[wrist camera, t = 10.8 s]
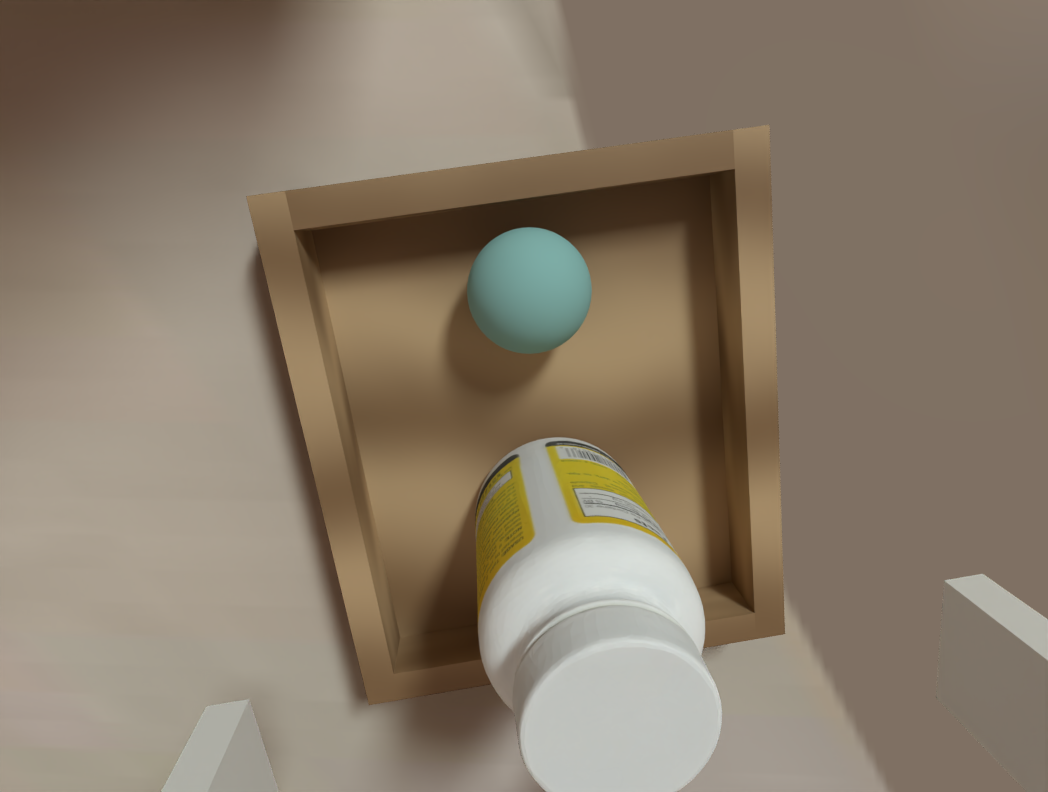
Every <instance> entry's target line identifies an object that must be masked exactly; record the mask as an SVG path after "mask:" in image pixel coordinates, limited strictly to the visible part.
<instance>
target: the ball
mask: <svg viewBox="0 0 1048 792" xmlns="http://www.w3.org/2000/svg"><path fill="white" fill-rule="evenodd" d="M591 295H592V285H591V278H590V274H589V270H588V267H587V265H586V263H585V261H584V259H583V257H582V256H581V254H580V253H579V252H578V250H577V249H576V248H575V247H574V246H573V245H572V244H571V243H570V242H569V241H567V240H566V239H565V238H563V237H562V236H560V235H558V234H556V233H554V232H552V231H549V230H546V229H541V228H533V227H526V228H518V229H513V230H510V231H507V232H505V233H503V234H501V235H499V236H497V237H496V238H494V239H493V240H491V241H490V242H489V243H488V244H487V245H486V246H485V247H484V248H483V249H482V250H481V251H480V253H479V254H478V256H477V257H476V259H475V261H474V263H473V265H472V267H471V270H470V273H469V277H468V283H467V298H468V304H469V308H470V311H471V314H472V317H473V318H474V320H475V322H476V324H477V326H478V327H479V328H480V330H481V331H482V332H483V333H484V334H485V336H486V337H487V338H489V339H490V340H491V341H492V342H494V343H495V344H497V345H498V346H500V347H502V348H504V349H507V350H510V351H513V352H517V353H524V354H534V353H541V352H546V351H549V350H552V349H554V348H556V347H558V346H560V345H562V344H563V343H565V342H566V341H568V340H569V339H570V338H571V337H572V336H573V335H574V334H575V333H576V332H577V331H578V330H579V328H580V327H581V325H582V324H583V322H584V320H585V318H586V316H587V313H588V310H589V307H590V302H591Z"/></svg>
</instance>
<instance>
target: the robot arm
mask: <svg viewBox="0 0 1048 792" xmlns="http://www.w3.org/2000/svg"><path fill="white" fill-rule="evenodd" d="M936 698H937V699H938V700H939V701H940V703H941V704H942V705H943V706H944V707H945V708H946V709H947V710H948V711H949V712H950V713H951V714H952V715H953V716H954V717H955V718H956V719H957V720H958V721H959V722H960V723H961V724H962V725H963V726H964V728H966V730H968V732H969V733H970V734H971V735H972V736H973V737H974V738H975V739H976V740H977V741H978V742H979V743H980V744H981V745H982V746H983V747H984V748H985V749H986V750H987V751H988V752H989V753H990V754H991V756H992V757H993V758H994V759H995V760H996V761H997V762H998V763H999V764H1000V765H1001V766H1002V767H1003V768H1004V769H1005V770H1006V771H1007V772H1008V773H1009V774H1010V775H1011V776H1012V777H1013V778H1014V779H1015V780H1016V781H1017V782H1018V784H1019V785H1021V786H1022V788H1023V789H1024V790H1025V791H1026V792H1048V619H1046V618H1045V617H1043V616H1042V615H1041V614H1039V613H1038V612H1036V611H1035V610H1033V609H1032V608H1031V607H1029V606H1028V605H1026V604H1025V603H1024V602H1022V601H1021V600H1019V599H1018V598H1016V597H1015V596H1013V595H1012V594H1011V593H1009V592H1008V591H1006V590H1005V589H1003V588H1002V587H1001V586H999V585H998V584H996V583H995V582H994V581H992V580H991V579H989V578H988V577H986V576H985V575H984V574H979V575H974V576H968V577H962V578H956V579H950V580H945V581H944V591H943V604H942V619H941V634H940V648H939V661H938V677H937V690H936ZM161 792H279V790H278V787H277V784H276V781H275V778H274V775H273V772H272V769H271V765H270V762H269V759H268V756H267V753H266V750H265V747H264V744H263V740H262V737H261V734H260V731H259V728H258V725H257V722H256V719H255V715H254V712H253V709H252V706H251V703H250V700H249V699H247V700H241V701H235V702H229V703H223V704H218V705H212V706H206V708H205V710H204V712H203V714H202V716H201V718H200V720H199V721H198V723H197V725H196V727H195V729H194V731H193V733H192V735H191V737H190V738H189V740H188V742H187V744H186V746H185V748H184V750H183V752H182V753H181V755H180V757H179V759H178V761H177V763H176V765H175V767H174V768H173V770H172V772H171V774H170V776H169V778H168V780H167V782H166V784H165V785H164V787H163V789H162V791H161Z"/></svg>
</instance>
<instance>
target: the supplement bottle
mask: <svg viewBox="0 0 1048 792" xmlns="http://www.w3.org/2000/svg"><path fill="white" fill-rule="evenodd" d="M475 536H476V559H477V563H476V564H477V603H478V637H479V646H480V654H481V658H482V663H483V666H484V668H485V671H486V674H487V676H488V678H489V680H490V682H491V684H492V686H493V687H494V689H495V691H496V692H497V694H498V695H499V696H500V698H501V699H502V700H503V701H504V703H505V704H506V705H507V706H508V707H509V708H510V709H511V710H512V711H513V712H514V716H515V722H516V729H517V736H518V744H519V749H520V753H521V756H522V759H523V761H524V764H525V766H526V767H527V769H528V771H529V773H530V775H531V776H532V777H533V779H534V780H535V781H536V782H537V783H538V785H539V786H540V787H541V788H542V789H544V790H545V791H546V792H677V791H678V790H680V789H681V788H683V787H684V786H685V785H687V784H688V783H689V782H690V781H691V780H692V779H694V778H695V777H696V775H697V774H698V773H699V772H700V771H701V770H702V768H703V767H704V766H705V764H706V763H707V762H708V760H709V759H710V757H711V755H712V753H713V751H714V749H715V747H716V745H717V741H718V738H719V735H720V730H721V722H722V707H721V700H720V696H719V693H718V690H717V687H716V685H715V682H714V680H713V678H712V676H711V674H710V672H709V670H708V668H707V666H706V664H705V662H704V660H703V658H702V656H701V654H702V650H703V645H704V640H705V617H704V610H703V605H702V602H701V598H700V596H699V593H698V591H697V588H696V586H695V584H694V582H693V580H692V578H691V576H690V574H689V572H688V570H687V568H686V566H685V565H684V563H683V562H682V560H681V558H680V557H679V556H678V554H677V552H676V551H675V549H674V548H673V546H672V545H671V543H670V542H669V540H668V538H667V537H666V535H665V534H664V532H663V531H662V529H661V528H660V526H659V524H658V523H657V521H656V520H655V518H654V517H653V515H652V514H651V512H650V510H649V509H648V507H647V506H646V504H645V502H644V501H643V499H642V498H641V496H640V495H639V493H638V492H637V490H636V489H635V487H634V485H633V484H632V482H631V481H630V479H629V478H628V476H627V475H626V473H625V472H624V471H623V469H622V468H621V467H620V466H619V465H618V463H617V462H616V461H615V460H614V459H613V458H612V457H611V456H609V455H608V454H607V453H606V452H604V451H603V450H601V449H599V448H598V447H596V446H594V445H592V444H589V443H587V442H584V441H581V440H577V439H572V438H563V437H554V438H545V439H539V440H536V441H532V442H529V443H527V444H524V445H522V446H520V447H518V448H516V449H515V450H513V451H511V452H510V453H508V454H507V455H506V456H505V457H503V458H502V459H501V460H500V461H499V462H498V463H497V464H496V465H495V466H494V467H493V469H492V470H491V471H490V472H489V474H488V476H487V477H486V479H485V481H484V483H483V485H482V487H481V489H480V492H479V495H478V499H477V504H476V512H475Z"/></svg>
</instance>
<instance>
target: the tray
mask: <svg viewBox="0 0 1048 792" xmlns="http://www.w3.org/2000/svg"><path fill="white" fill-rule="evenodd" d="M769 130H770V129H769V125H765V126H758V127H750V128H743V129H735V130H728V131H721V132H713V133H707V134H699V135H692V136H684V137H677V138H669V139H662V140H655V141H647V142H640V143H633V144H626V145H618V146H611V147H603V148H596V149H589V150H581V151H574V152H567V153H560V154H552V155H545V156H538V157H530V158H523V159H516V160H508V161H501V162H494V163H486V164H479V165H472V166H464V167H457V168H450V169H442V170H435V171H428V172H420V173H413V174H406V175H398V176H391V177H384V178H376V179H369V180H362V181H355V182H347V183H340V184H333V185H325V186H318V187H311V188H303V189H296V190H289V191H281V192H274V193H267V194H259V195H252V196H246V197H247V201H248V206H249V210H250V214H251V218H252V222H253V226H254V231H255V235H256V239H257V243H258V247H259V251H260V255H261V260H262V264H263V268H264V272H265V276H266V280H267V284H268V289H269V293H270V297H271V301H272V305H273V309H274V313H275V318H276V322H277V326H278V330H279V334H280V338H281V342H282V347H283V351H284V355H285V359H286V363H287V367H288V372H289V376H290V380H291V384H292V388H293V392H294V396H295V401H296V405H297V409H298V413H299V417H300V421H301V425H302V430H303V434H304V438H305V442H306V446H307V450H308V454H309V459H310V463H311V467H312V471H313V475H314V479H315V483H316V488H317V492H318V496H319V500H320V504H321V508H322V513H323V517H324V521H325V525H326V529H327V533H328V537H329V542H330V546H331V550H332V554H333V558H334V562H335V566H336V571H337V575H338V579H339V583H340V587H341V591H342V595H343V600H344V604H345V608H346V612H347V616H348V620H349V624H350V629H351V633H352V637H353V641H354V645H355V649H356V654H357V658H358V662H359V666H360V670H361V674H362V678H363V683H364V687H365V691H366V695H367V699H368V703H369V705H372V704H378V703H384V702H390V701H396V700H402V699H407V698H413V697H419V696H425V695H431V694H437V693H443V692H448V691H454V690H460V689H466V688H472V687H478V686H484V685H489V684H491V682H490V680H489V678H488V676H487V674H486V671H485V668H484V666H483V663H482V658H481V654H480V646H479V637H478V603H477V564H476V563H477V559H476V536H475V512H476V504H477V499H478V495H479V492H480V489H481V487H482V485H483V483H484V481H485V479H486V477H487V476H488V474H489V472H490V471H491V470H492V469H493V467H494V466H495V465H496V464H497V463H498V462H499V461H500V460H501V459H502V458H503V457H505V456H506V455H507V454H508V453H510V452H511V451H513V450H515V449H516V448H518V447H520V446H522V445H524V444H527V443H529V442H532V441H536V440H539V439H545V438H554V437H563V438H572V439H577V440H581V441H584V442H587V443H589V444H592V445H594V446H596V447H598V448H599V449H601V450H603V451H604V452H606V453H607V454H608V455H609V456H611V457H612V458H613V459H614V460H615V461H616V462H617V463H618V465H619V466H620V467H621V468H622V469H623V471H624V472H625V473H626V475H627V476H628V478H629V479H630V481H631V482H632V484H633V485H634V487H635V489H636V490H637V492H638V493H639V495H640V496H641V498H642V499H643V501H644V502H645V504H646V506H647V507H648V509H649V510H650V512H651V514H652V515H653V517H654V518H655V520H656V521H657V523H658V524H659V526H660V528H661V529H662V531H663V532H664V534H665V535H666V537H667V538H668V540H669V542H670V543H671V545H672V546H673V548H674V549H675V551H676V552H677V554H678V556H679V557H680V558H681V560H682V562H683V563H684V565H685V566H686V568H687V570H688V572H689V574H690V576H691V578H692V580H693V582H694V584H695V586H696V588H697V591H698V593H699V596H700V598H701V602H702V605H703V610H704V617H705V640H704V645H703V648H706V647H712V646H718V645H724V644H729V643H735V642H741V641H747V640H753V639H759V638H765V637H770V636H776V635H782V634H785V623H784V590H783V557H782V524H781V494H780V493H781V491H780V459H779V427H778V426H779V425H778V392H777V360H776V326H775V295H774V261H773V230H772V229H773V228H772V196H771V165H770V164H771V163H770V131H769ZM526 227H533V228H541V229H546V230H549V231H552V232H554V233H556V234H558V235H560V236H562V237H563V238H565V239H566V240H567V241H569V242H570V243H571V244H572V245H573V246H574V247H575V248H576V249H577V250H578V252H579V253H580V254H581V256H582V257H583V259H584V261H585V263H586V265H587V267H588V270H589V274H590V278H591V285H592V295H591V302H590V307H589V310H588V313H587V316H586V318H585V320H584V322H583V324H582V325H581V327H580V328H579V330H578V331H577V332H576V333H575V334H574V335H573V336H572V337H571V338H570V339H569V340H568V341H566V342H565V343H563V344H562V345H560V346H558V347H556V348H554V349H552V350H549V351H546V352H541V353H534V354H524V353H517V352H513V351H510V350H507V349H504V348H502V347H500V346H498V345H497V344H495V343H494V342H492V341H491V340H490V339H489V338H487V337H486V336H485V334H484V333H483V332H482V331H481V330H480V328H479V327H478V326H477V324H476V322H475V320H474V318H473V317H472V314H471V311H470V308H469V304H468V298H467V283H468V277H469V273H470V270H471V267H472V265H473V263H474V261H475V259H476V257H477V256H478V254H479V253H480V251H481V250H482V249H483V248H484V247H485V246H486V245H487V244H488V243H489V242H490V241H491V240H493V239H494V238H496V237H497V236H499V235H501V234H503V233H505V232H507V231H510V230H513V229H518V228H526Z"/></svg>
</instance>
